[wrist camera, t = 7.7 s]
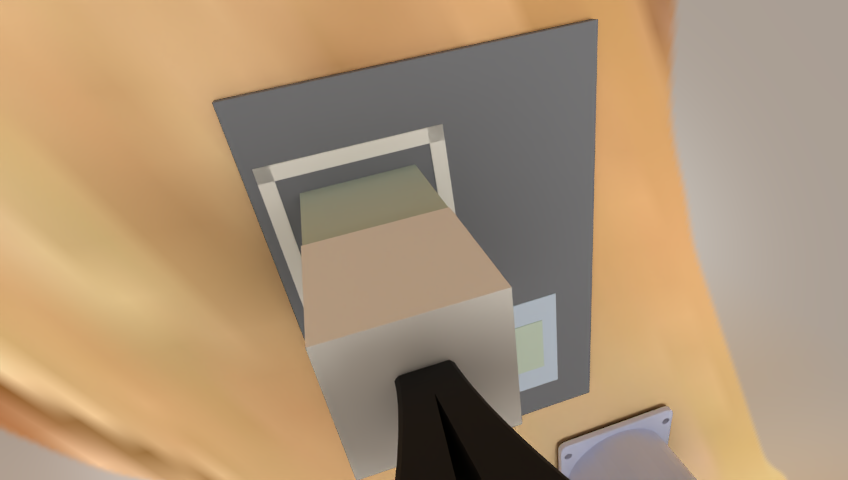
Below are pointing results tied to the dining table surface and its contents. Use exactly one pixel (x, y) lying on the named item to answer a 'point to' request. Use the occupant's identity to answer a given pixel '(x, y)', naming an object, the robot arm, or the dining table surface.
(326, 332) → the top block
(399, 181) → the base block
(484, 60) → the mat
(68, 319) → the dining table surface
